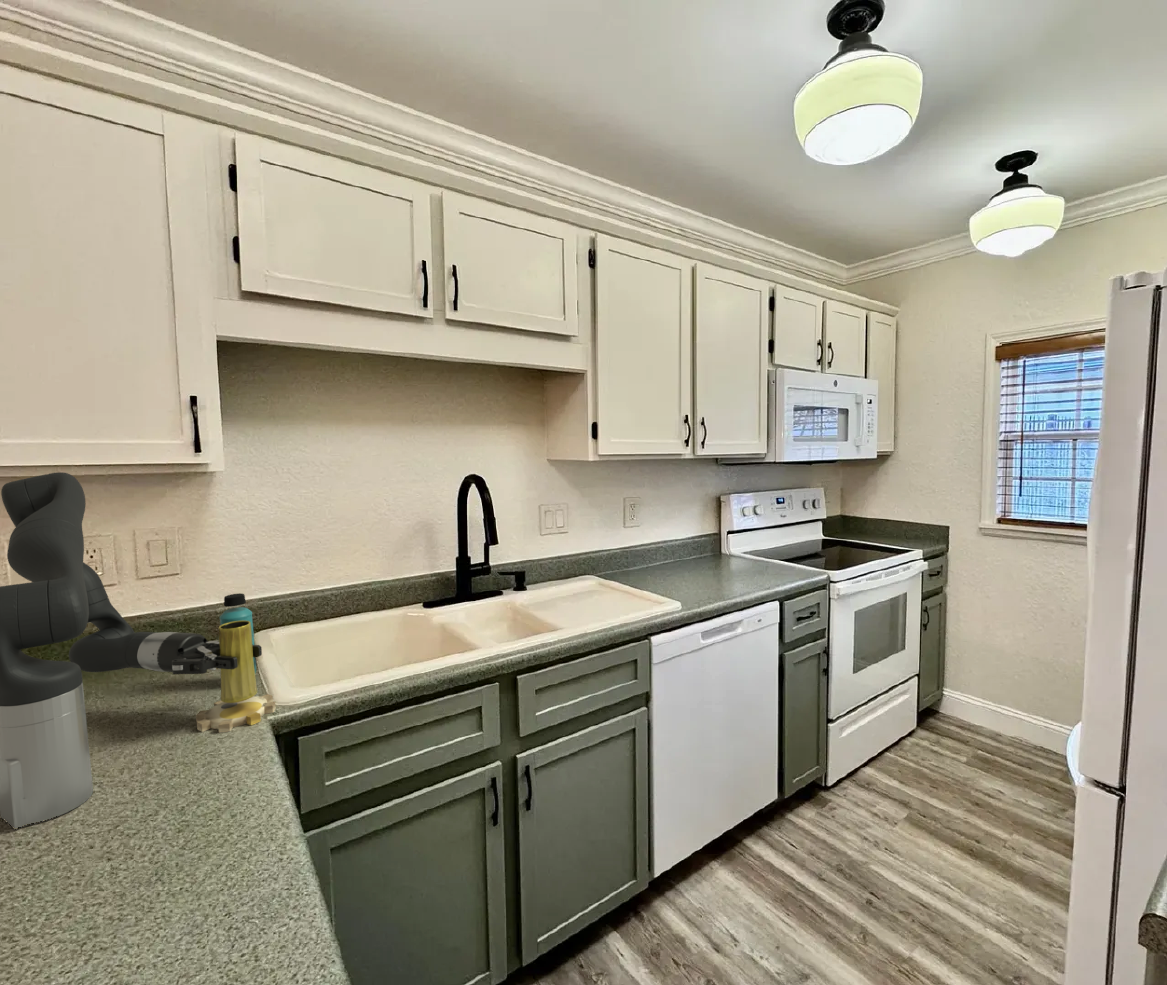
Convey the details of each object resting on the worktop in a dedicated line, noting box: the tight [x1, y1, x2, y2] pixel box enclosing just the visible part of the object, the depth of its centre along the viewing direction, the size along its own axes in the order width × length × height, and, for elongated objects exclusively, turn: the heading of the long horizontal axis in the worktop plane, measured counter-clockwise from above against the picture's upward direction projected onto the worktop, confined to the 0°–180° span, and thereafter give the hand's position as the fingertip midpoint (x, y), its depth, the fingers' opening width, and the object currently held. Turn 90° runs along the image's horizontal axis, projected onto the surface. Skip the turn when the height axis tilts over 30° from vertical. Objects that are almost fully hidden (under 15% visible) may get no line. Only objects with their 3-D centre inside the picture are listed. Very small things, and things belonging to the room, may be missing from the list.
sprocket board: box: [195, 693, 277, 734], centre depth 107 cm, size 13×13×2 cm
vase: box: [218, 620, 258, 703], centre depth 106 cm, size 6×6×14 cm
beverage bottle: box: [219, 593, 258, 675], centre depth 123 cm, size 6×7×20 cm
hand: (248, 657), depth 106 cm, fingers closed on vase, 5 cm apart
